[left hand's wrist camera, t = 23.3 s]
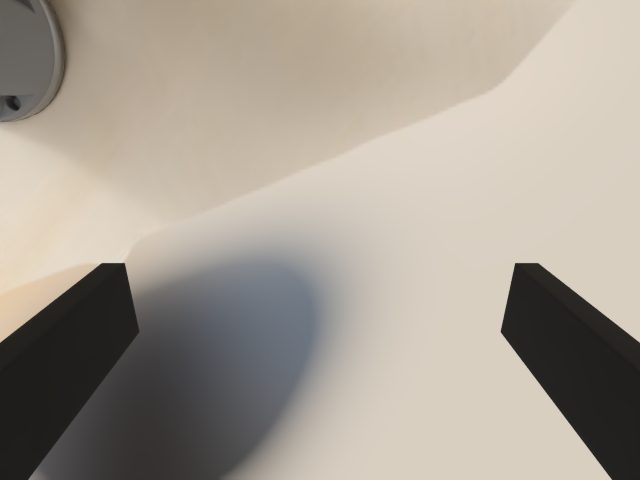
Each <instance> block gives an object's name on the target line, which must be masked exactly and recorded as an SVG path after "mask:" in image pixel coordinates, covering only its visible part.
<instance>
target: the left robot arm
mask: <svg viewBox="0 0 640 480" xmlns="http://www.w3.org/2000/svg"><path fill="white" fill-rule="evenodd" d="M64 65H65V50H64V42H63V36H62V32H61V29H60V25H59V22H58V20H57V17H56V14H55V12H54V10H53V8H52V6H51V4H50V2H49V0H0V122H7V121H16V120H21V119H25V118H28V117H30V116H33V115H35V114H36V113H38V112H40V111H41V110H42V109H43V108H45V107H46V106H47V105H48V104H49V103H50V102H51V100H52V99H53V98H54V96H55V94H56V93H57V91H58V89H59V86H60V84H61V81H62V77H63V73H64ZM138 333H139V328H138V323H137V319H136V314H135V309H134V305H133V300H132V295H131V290H130V286H129V281H128V276H127V272H126V267H125V263H102V264H100V265H99V266H98V267H96V268H95V269H94V270H93V271H91V272H90V273H89V274H88V275H86V276H85V277H84V278H82V279H81V280H80V281H79V282H77V283H76V284H75V285H73V286H72V287H71V288H70V289H68V290H67V291H66V292H65V293H63V294H62V295H61V296H59V297H58V298H57V299H56V300H54V301H53V302H52V303H50V304H49V305H48V306H47V307H45V308H44V309H43V310H42V311H40V312H39V313H38V314H36V315H35V316H34V317H33V318H31V319H30V320H29V321H28V322H26V323H25V324H24V325H22V326H21V327H20V328H18V329H17V330H16V331H15V332H13V333H12V334H11V335H10V336H8V337H7V338H6V339H4V340H3V341H2V342H1V343H0V480H28V479H29V478H30V476H31V475H32V474H33V472H34V471H35V470H36V468H37V467H38V466H39V464H40V463H41V462H42V460H43V459H44V458H45V456H46V455H47V454H48V452H49V451H50V450H51V449H52V447H53V446H54V445H55V443H56V442H57V441H58V439H59V438H60V437H61V435H62V434H63V433H64V431H65V430H66V429H67V427H68V426H69V425H70V423H71V422H72V421H73V419H74V418H75V417H76V415H77V414H78V413H79V411H80V410H81V409H82V407H83V406H84V405H85V403H86V402H87V401H88V399H89V398H90V397H91V395H92V394H93V393H94V391H95V390H96V389H97V387H98V386H99V385H100V383H101V382H102V381H103V380H104V378H105V377H106V375H107V374H108V373H109V372H110V370H111V369H112V368H113V366H114V365H115V364H116V362H117V361H118V360H119V358H120V357H121V356H122V354H123V353H124V352H125V350H126V349H127V348H128V346H129V345H130V344H131V342H132V341H133V340H134V338H135V337H136V336H137V334H138ZM501 333H502V334H503V336H504V337H505V338H506V340H507V341H508V342H509V344H510V345H511V346H512V348H513V349H514V350H515V352H516V353H517V354H518V356H519V357H520V358H521V360H522V361H523V362H524V364H525V365H526V366H527V368H528V369H529V370H530V372H531V373H532V374H533V376H534V377H535V378H536V380H537V381H538V382H539V383H540V385H541V386H542V388H543V389H544V390H545V392H546V393H547V394H548V395H549V397H550V398H551V399H552V401H553V402H554V403H555V405H556V406H557V407H558V409H559V410H560V411H561V413H562V414H563V415H564V417H565V418H566V419H567V421H568V422H569V423H570V425H571V426H572V427H573V429H574V430H575V431H576V433H577V434H578V435H579V437H580V438H581V439H582V441H583V442H584V443H585V444H586V446H587V447H588V448H589V450H590V451H591V452H592V454H593V455H594V456H595V458H596V459H597V460H598V462H599V463H600V464H601V466H602V467H603V468H604V470H605V471H606V472H607V474H608V475H609V476H610V478H611V479H612V480H640V343H639V342H638V341H637V340H636V339H634V338H633V337H632V336H630V335H629V334H628V333H627V332H625V331H624V330H623V329H622V328H620V327H619V326H618V325H616V324H615V323H614V322H613V321H611V320H610V319H609V318H607V317H606V316H605V315H604V314H602V313H601V312H600V311H599V310H597V309H596V308H595V307H593V306H592V305H591V304H590V303H588V302H587V301H586V300H584V299H583V298H582V297H581V296H579V295H578V294H577V293H576V292H574V291H573V290H572V289H570V288H569V287H568V286H567V285H565V284H564V283H563V282H561V281H560V280H559V279H558V278H556V277H555V276H554V275H552V274H551V273H550V272H549V271H547V270H546V269H545V268H544V267H542V266H541V265H540V264H538V263H515V267H514V272H513V276H512V281H511V286H510V291H509V295H508V300H507V305H506V309H505V314H504V319H503V323H502V328H501Z"/></svg>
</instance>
